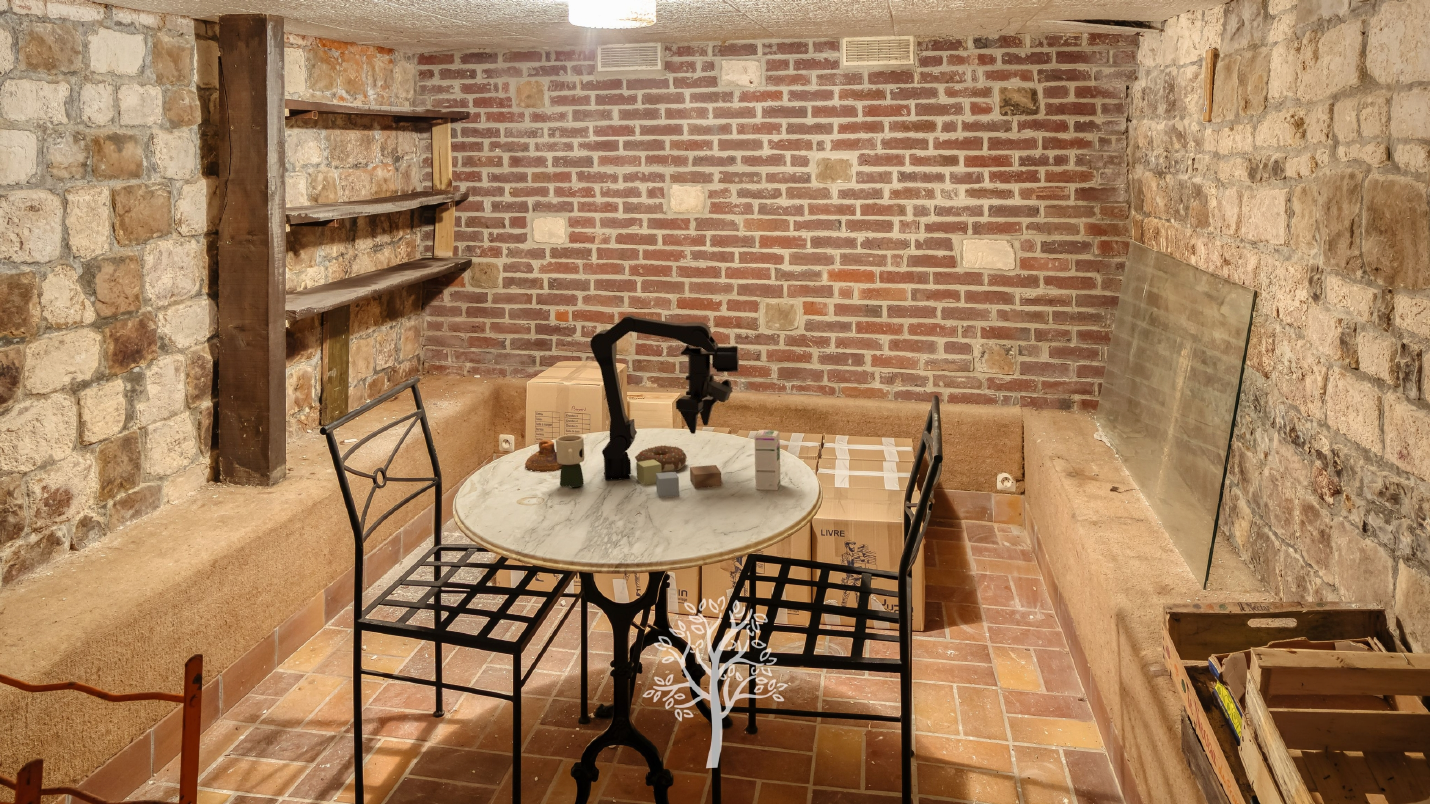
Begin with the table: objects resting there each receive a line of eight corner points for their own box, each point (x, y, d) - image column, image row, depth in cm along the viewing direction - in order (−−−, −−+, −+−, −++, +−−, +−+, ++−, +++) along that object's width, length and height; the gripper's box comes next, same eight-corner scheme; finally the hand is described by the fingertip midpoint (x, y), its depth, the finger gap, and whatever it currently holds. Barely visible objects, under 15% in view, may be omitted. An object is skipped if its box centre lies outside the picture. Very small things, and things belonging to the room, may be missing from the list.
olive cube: (644, 485, 264) (643, 466, 263) (637, 480, 268) (636, 462, 267) (661, 482, 266) (661, 464, 265) (654, 477, 270) (653, 459, 269)
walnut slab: (694, 489, 260) (694, 474, 259) (690, 481, 267) (689, 466, 266) (721, 487, 261) (721, 472, 260) (716, 479, 268) (715, 464, 267)
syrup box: (777, 490, 257) (777, 435, 254) (754, 489, 258) (754, 435, 255) (780, 484, 262) (780, 430, 259) (758, 482, 263) (757, 429, 260)
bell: (564, 472, 276) (563, 447, 275) (521, 473, 276) (519, 447, 275) (571, 460, 288) (570, 436, 286) (529, 461, 288) (528, 436, 286)
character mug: (586, 491, 259) (584, 442, 256) (558, 493, 258) (555, 444, 255) (585, 479, 269) (582, 432, 266) (558, 480, 268) (555, 433, 265)
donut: (689, 460, 285) (689, 443, 284) (683, 475, 272) (682, 457, 271) (639, 460, 287) (639, 443, 285) (631, 474, 273) (630, 456, 272)
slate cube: (659, 498, 253) (658, 478, 252) (656, 491, 258) (656, 473, 257) (679, 496, 254) (678, 477, 253) (675, 490, 259) (675, 471, 258)
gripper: (716, 380, 251) (716, 441, 255) (740, 367, 268) (739, 423, 272) (674, 377, 255) (675, 437, 259) (701, 364, 272) (701, 420, 276)
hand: (699, 429), depth 266 cm, fingers open, 9 cm apart
